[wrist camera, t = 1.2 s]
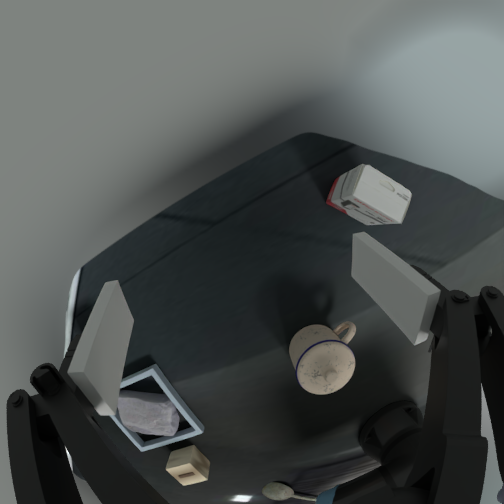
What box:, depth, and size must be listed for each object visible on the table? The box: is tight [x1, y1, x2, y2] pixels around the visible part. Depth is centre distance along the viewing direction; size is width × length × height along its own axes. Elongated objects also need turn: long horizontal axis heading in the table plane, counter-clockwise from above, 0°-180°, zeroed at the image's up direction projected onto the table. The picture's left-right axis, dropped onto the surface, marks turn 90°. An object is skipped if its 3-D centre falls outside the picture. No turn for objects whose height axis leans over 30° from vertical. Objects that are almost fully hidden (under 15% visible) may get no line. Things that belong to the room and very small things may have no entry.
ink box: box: [326, 164, 412, 225], centre depth 40 cm, size 9×5×12 cm, turn 65°
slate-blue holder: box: [110, 364, 204, 452], centre depth 46 cm, size 16×16×2 cm
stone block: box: [117, 390, 179, 436], centre depth 46 cm, size 12×5×10 cm
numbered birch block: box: [166, 445, 210, 486], centre depth 45 cm, size 6×6×6 cm
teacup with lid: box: [289, 322, 356, 395], centre depth 41 cm, size 12×9×12 cm
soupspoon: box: [262, 482, 316, 501], centre depth 49 cm, size 22×3×7 cm
